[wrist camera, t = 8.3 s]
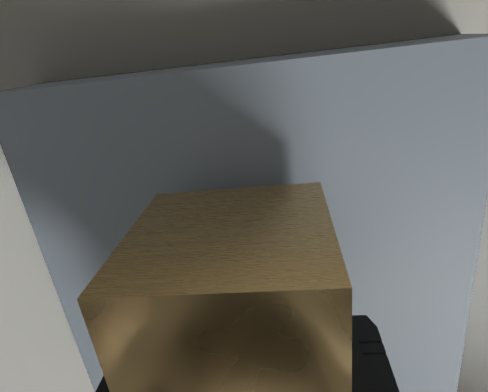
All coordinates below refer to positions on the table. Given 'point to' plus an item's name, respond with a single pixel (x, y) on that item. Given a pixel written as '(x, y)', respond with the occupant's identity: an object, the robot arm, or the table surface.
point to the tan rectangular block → (225, 296)
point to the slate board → (280, 172)
